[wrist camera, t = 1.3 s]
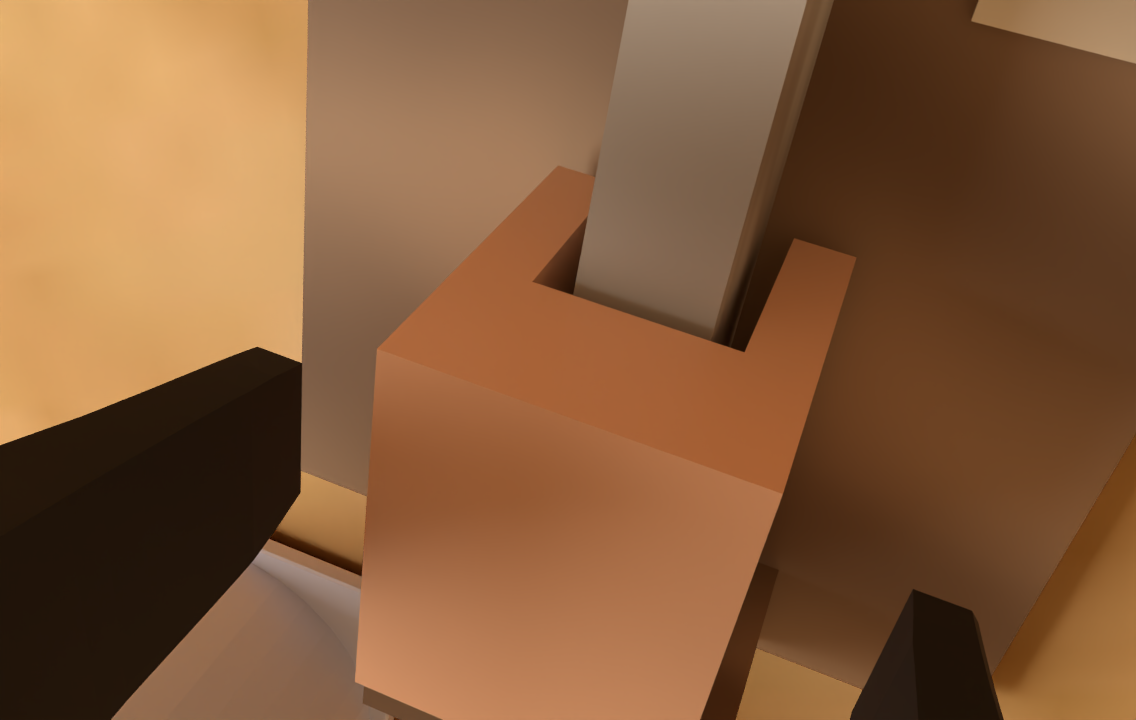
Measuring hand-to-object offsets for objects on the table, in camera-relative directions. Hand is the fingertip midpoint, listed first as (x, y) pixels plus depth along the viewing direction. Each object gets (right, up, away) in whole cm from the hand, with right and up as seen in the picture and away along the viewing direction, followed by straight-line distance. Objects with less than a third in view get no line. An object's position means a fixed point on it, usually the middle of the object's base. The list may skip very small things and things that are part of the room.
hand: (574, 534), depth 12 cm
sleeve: (+1, +2, +3) cm, 4 cm away
